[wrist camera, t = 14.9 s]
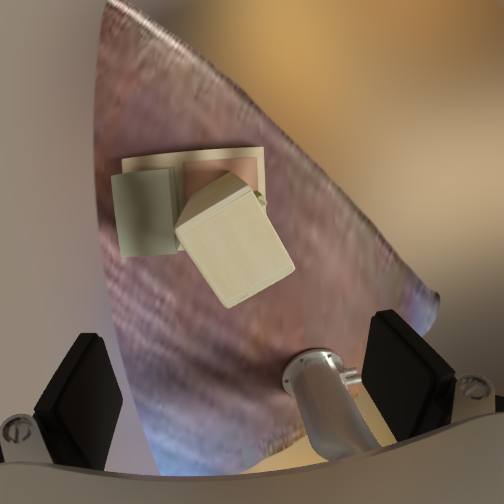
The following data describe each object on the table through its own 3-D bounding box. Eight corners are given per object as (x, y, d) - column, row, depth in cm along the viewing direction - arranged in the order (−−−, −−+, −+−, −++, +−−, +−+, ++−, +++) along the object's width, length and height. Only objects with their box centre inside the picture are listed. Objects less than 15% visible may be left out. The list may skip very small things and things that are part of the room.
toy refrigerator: (265, 216, 44) (304, 267, 24) (220, 242, 45) (224, 312, 25) (237, 167, 42) (255, 176, 22) (191, 194, 42) (168, 228, 22)
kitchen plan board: (260, 147, 44) (273, 144, 34) (263, 238, 49) (277, 262, 38) (127, 158, 43) (101, 160, 32) (136, 248, 47) (116, 273, 36)
